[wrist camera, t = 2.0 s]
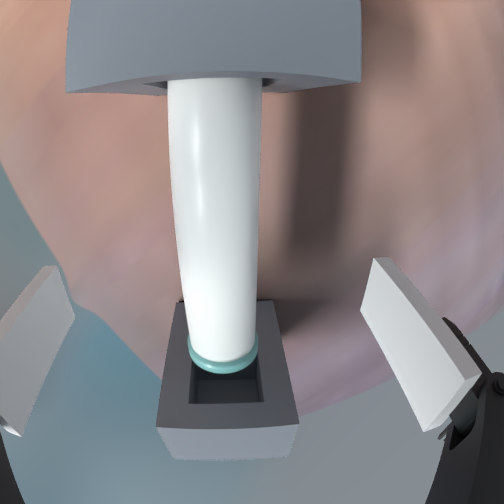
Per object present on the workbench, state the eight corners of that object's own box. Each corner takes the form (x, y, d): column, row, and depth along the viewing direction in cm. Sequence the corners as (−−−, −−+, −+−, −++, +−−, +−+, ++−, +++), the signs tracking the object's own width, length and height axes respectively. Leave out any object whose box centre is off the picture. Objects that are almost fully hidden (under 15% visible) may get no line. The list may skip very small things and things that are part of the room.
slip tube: (181, -63, 8) (170, -102, 4) (263, -64, 8) (274, -104, 4) (191, 324, 20) (186, 373, 16) (254, 323, 20) (261, 372, 16)
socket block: (176, 302, 27) (155, 427, 15) (272, 300, 27) (299, 423, 16) (184, 346, 29) (173, 458, 18) (269, 344, 30) (288, 455, 19)
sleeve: (160, -1, 14) (93, -87, 3) (285, -3, 15) (349, -95, 3) (157, 95, 18) (65, 92, 7) (283, 92, 19) (360, 82, 7)
